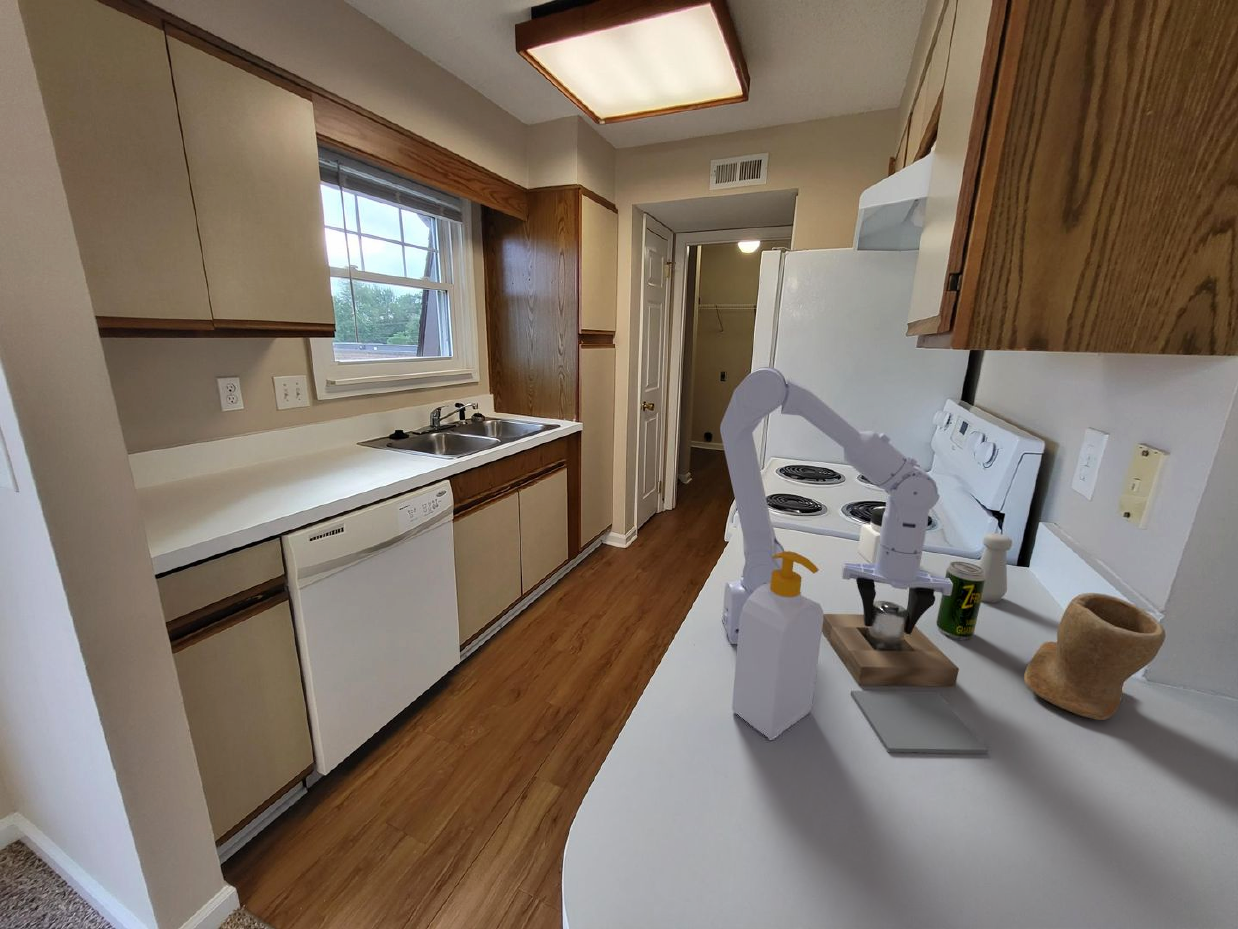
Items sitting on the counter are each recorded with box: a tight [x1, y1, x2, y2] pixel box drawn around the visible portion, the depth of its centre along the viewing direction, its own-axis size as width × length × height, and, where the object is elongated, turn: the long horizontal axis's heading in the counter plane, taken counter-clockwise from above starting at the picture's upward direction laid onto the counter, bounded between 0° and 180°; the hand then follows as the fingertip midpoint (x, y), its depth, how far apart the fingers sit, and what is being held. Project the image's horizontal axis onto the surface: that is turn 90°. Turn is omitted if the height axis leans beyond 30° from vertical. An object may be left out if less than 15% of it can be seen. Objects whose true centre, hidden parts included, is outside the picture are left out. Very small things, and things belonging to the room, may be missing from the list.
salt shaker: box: [977, 532, 1013, 604], centre depth 95 cm, size 6×6×13 cm
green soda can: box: [936, 561, 986, 641], centre depth 83 cm, size 5×5×12 cm
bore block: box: [822, 613, 960, 687], centre depth 77 cm, size 14×14×3 cm
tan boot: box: [1023, 592, 1166, 721], centre depth 68 cm, size 15×12×15 cm
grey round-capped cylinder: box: [866, 600, 908, 651], centre depth 77 cm, size 5×5×8 cm
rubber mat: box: [850, 690, 989, 755], centre depth 64 cm, size 12×10×1 cm
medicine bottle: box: [857, 506, 886, 564], centre depth 111 cm, size 7×7×12 cm
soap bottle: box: [731, 550, 824, 740], centre depth 62 cm, size 9×7×23 cm
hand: (886, 626), depth 77 cm, fingers closed on grey round-capped cylinder, 5 cm apart
